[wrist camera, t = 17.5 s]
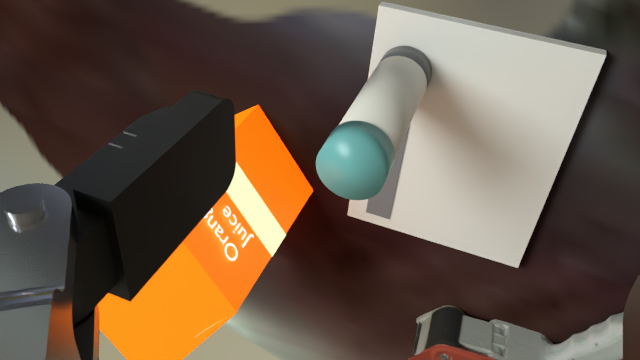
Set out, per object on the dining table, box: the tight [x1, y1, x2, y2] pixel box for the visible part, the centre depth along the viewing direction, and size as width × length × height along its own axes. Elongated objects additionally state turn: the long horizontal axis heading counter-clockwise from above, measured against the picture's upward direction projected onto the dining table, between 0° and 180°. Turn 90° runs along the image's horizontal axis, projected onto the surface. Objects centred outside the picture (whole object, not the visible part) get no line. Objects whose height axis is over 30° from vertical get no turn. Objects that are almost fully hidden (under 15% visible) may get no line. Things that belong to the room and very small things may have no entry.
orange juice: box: [98, 105, 313, 360], centre depth 43 cm, size 8×9×20 cm
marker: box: [316, 46, 432, 200], centre depth 35 cm, size 4×4×12 cm
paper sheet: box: [348, 2, 606, 268], centre depth 42 cm, size 14×18×1 cm
